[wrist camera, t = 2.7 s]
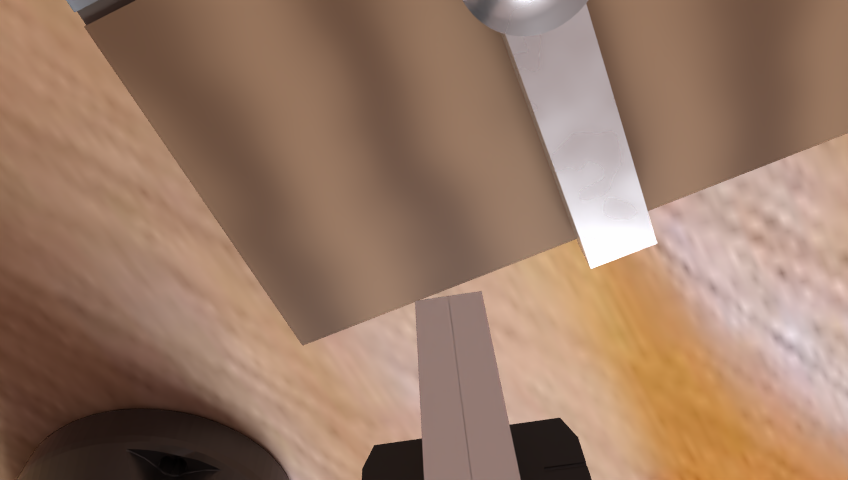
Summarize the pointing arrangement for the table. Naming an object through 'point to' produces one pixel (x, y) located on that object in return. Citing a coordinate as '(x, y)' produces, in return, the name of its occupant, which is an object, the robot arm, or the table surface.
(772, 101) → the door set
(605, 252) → the latch bar
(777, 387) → the table surface
